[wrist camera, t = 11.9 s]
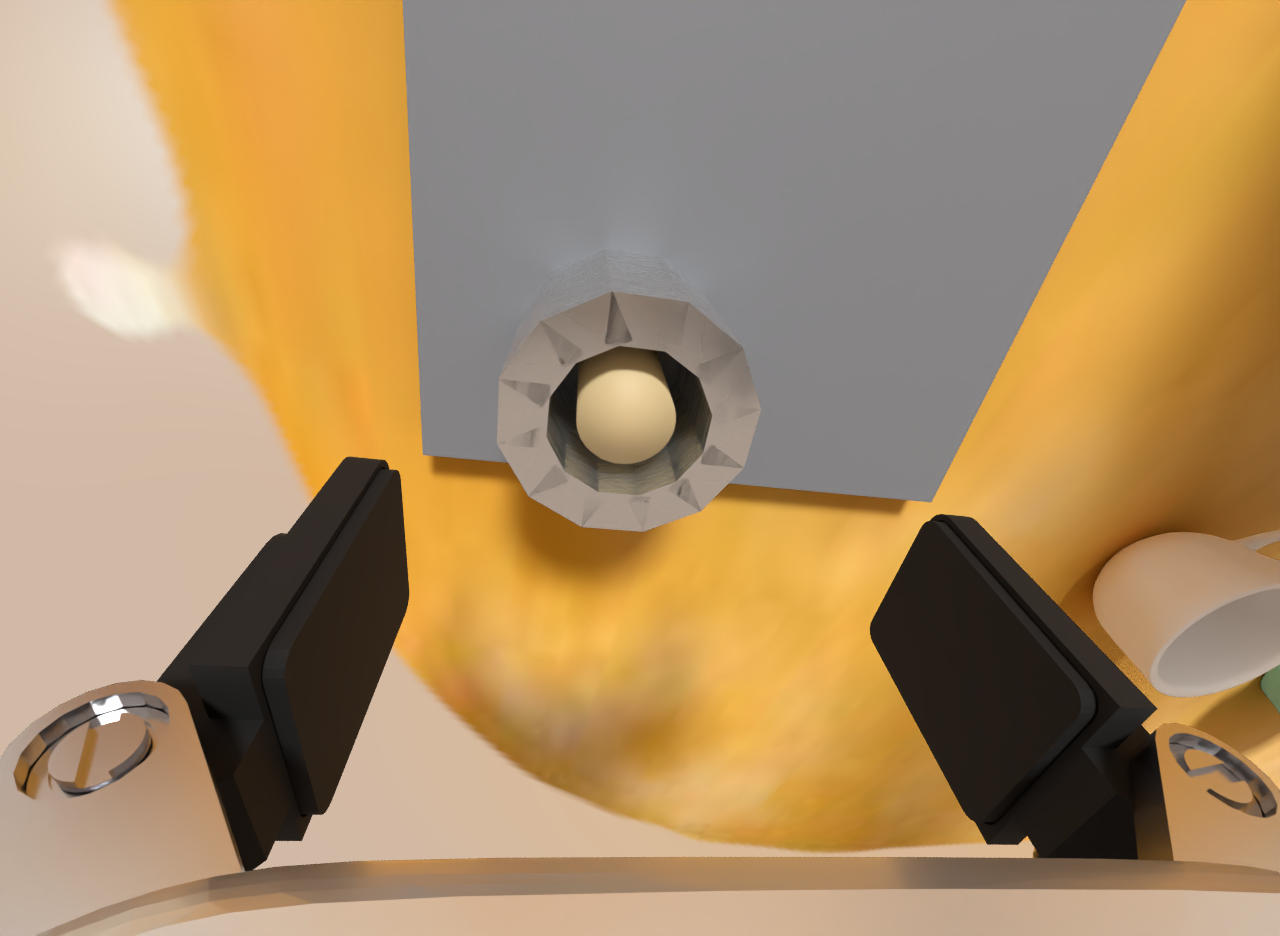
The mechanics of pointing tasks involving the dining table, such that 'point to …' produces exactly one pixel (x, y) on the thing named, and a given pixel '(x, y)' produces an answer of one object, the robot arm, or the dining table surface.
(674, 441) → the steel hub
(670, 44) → the stand
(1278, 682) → the cupcake
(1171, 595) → the teacup
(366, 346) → the dining table surface
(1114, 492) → the dining table surface
